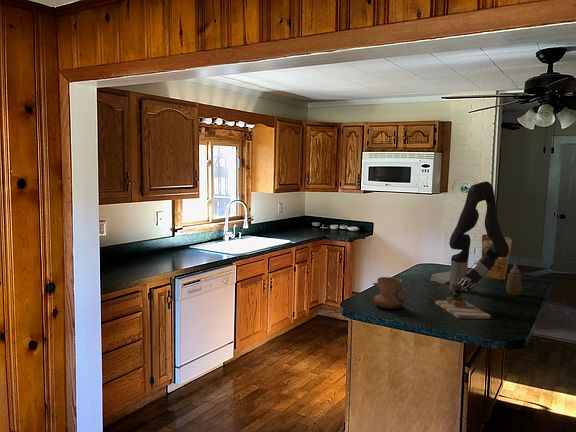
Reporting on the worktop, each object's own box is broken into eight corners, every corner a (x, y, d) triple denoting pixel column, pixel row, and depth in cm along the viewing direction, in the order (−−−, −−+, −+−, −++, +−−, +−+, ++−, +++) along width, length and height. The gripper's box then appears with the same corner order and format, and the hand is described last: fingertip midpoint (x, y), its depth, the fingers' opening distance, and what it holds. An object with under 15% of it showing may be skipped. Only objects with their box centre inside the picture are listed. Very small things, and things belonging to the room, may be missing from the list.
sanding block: (446, 301, 256) (447, 282, 255) (457, 301, 256) (458, 282, 255) (454, 306, 247) (455, 287, 246) (465, 306, 248) (467, 287, 247)
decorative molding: (474, 282, 323) (462, 275, 330) (477, 275, 321) (464, 268, 329) (442, 288, 302) (430, 280, 310) (445, 281, 301) (432, 274, 308)
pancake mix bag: (480, 274, 334) (483, 233, 331) (509, 279, 321) (513, 237, 318) (476, 275, 329) (479, 234, 326) (506, 280, 316) (509, 237, 313)
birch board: (435, 303, 257) (435, 300, 257) (463, 302, 260) (463, 300, 260) (459, 318, 232) (459, 315, 232) (490, 318, 234) (490, 315, 234)
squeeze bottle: (506, 291, 287) (508, 261, 285) (521, 294, 283) (524, 263, 281) (504, 294, 280) (507, 263, 278) (520, 297, 276) (522, 265, 274)
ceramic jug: (366, 307, 246) (368, 279, 244) (377, 300, 258) (379, 274, 256) (401, 314, 237) (403, 286, 235) (410, 307, 249) (412, 280, 247)
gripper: (465, 264, 258) (441, 287, 257) (479, 270, 244) (454, 294, 243) (474, 274, 259) (450, 297, 258) (488, 280, 245) (464, 304, 245)
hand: (452, 295), depth 251 cm, fingers closed on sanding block, 3 cm apart
